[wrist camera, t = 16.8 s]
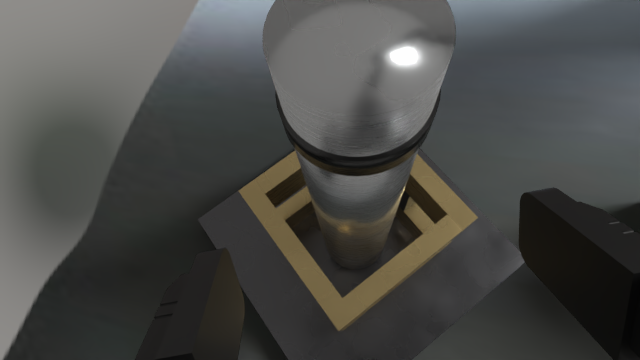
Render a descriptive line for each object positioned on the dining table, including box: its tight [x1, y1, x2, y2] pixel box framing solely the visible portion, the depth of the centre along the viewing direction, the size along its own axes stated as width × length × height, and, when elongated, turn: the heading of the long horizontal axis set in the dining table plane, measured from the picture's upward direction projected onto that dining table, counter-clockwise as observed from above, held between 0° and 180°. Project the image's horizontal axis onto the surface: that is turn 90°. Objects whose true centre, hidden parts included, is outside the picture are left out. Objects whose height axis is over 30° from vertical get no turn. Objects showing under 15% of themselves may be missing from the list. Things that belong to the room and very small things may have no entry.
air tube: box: [263, 0, 456, 269], centre depth 17 cm, size 4×4×20 cm
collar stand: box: [198, 148, 525, 360], centre depth 24 cm, size 16×16×10 cm
